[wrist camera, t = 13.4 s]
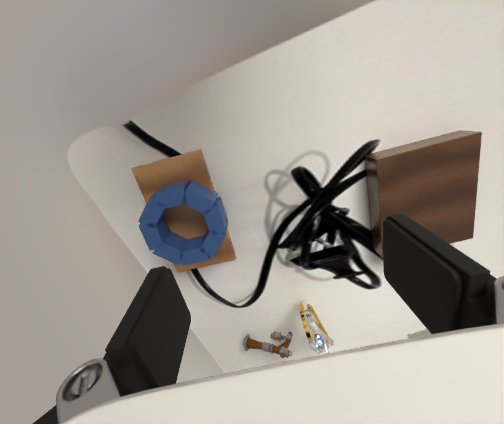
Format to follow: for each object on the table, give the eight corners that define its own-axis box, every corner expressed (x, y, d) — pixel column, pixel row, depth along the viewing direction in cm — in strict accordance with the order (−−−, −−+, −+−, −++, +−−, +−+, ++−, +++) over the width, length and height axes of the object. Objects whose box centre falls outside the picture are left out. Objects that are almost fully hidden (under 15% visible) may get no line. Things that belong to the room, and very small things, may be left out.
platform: (364, 155, 32) (376, 159, 29) (460, 130, 31) (482, 131, 28) (372, 248, 37) (383, 259, 34) (455, 228, 36) (473, 238, 33)
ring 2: (290, 294, 39) (301, 336, 32) (308, 286, 39) (324, 326, 32) (308, 323, 42) (322, 369, 34) (326, 315, 41) (344, 360, 34)
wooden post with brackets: (298, 338, 42) (291, 363, 38) (254, 330, 45) (244, 352, 41) (296, 330, 41) (290, 354, 37) (252, 322, 44) (242, 344, 41)
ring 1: (138, 192, 32) (126, 201, 29) (213, 173, 31) (209, 180, 28) (167, 257, 36) (159, 271, 32) (234, 241, 35) (233, 254, 32)
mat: (132, 167, 31) (131, 168, 31) (200, 149, 31) (200, 149, 30) (178, 270, 37) (177, 272, 37) (236, 256, 37) (236, 258, 36)
